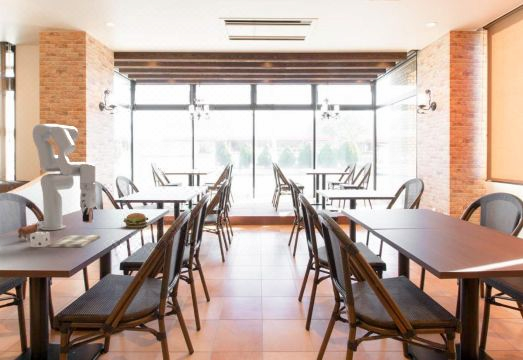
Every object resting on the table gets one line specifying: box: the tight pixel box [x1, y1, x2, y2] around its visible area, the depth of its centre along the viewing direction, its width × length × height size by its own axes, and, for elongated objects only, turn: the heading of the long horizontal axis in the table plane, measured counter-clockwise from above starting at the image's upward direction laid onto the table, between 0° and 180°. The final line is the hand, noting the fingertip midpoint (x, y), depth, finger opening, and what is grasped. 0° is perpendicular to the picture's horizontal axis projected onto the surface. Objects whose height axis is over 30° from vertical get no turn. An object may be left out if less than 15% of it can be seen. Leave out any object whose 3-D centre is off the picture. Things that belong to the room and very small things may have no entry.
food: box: [122, 212, 149, 229], centre depth 240 cm, size 14×14×8 cm
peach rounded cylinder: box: [83, 207, 93, 224], centre depth 214 cm, size 4×4×8 cm
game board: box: [47, 234, 101, 248], centre depth 198 cm, size 16×21×1 cm
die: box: [29, 231, 51, 248], centre depth 190 cm, size 6×6×6 cm
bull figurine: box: [17, 221, 43, 242], centre depth 203 cm, size 4×13×8 cm, turn 161°
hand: (87, 220), depth 214 cm, fingers closed on peach rounded cylinder, 4 cm apart
